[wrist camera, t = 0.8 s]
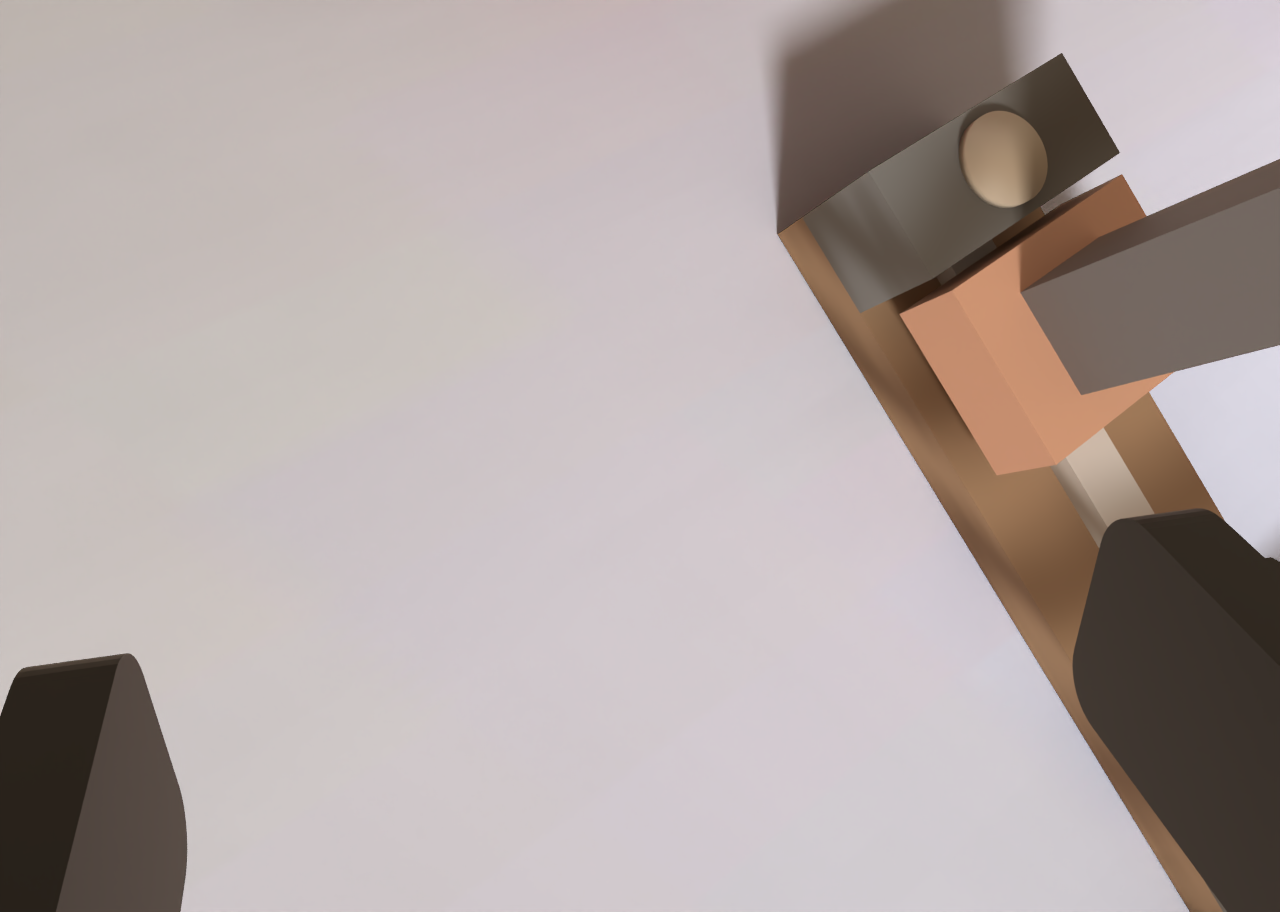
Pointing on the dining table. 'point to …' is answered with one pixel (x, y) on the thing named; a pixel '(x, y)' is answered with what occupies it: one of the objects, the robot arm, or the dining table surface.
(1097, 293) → the carriage
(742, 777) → the dining table surface
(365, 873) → the dining table surface
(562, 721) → the dining table surface
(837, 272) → the rail
